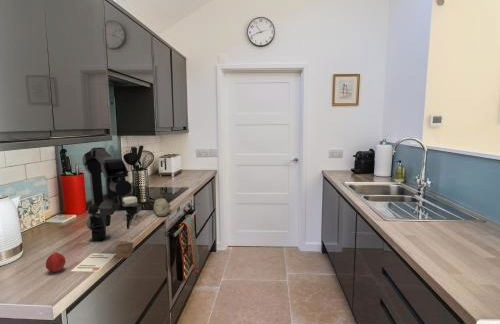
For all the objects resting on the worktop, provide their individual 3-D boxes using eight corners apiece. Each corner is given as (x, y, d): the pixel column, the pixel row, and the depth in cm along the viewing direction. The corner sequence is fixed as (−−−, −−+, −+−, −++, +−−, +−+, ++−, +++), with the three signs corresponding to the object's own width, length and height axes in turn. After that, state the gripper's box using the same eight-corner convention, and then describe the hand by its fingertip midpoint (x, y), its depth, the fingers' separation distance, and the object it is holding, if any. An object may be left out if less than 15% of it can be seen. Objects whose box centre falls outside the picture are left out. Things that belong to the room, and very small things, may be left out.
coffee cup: (120, 221, 153) (119, 200, 151) (124, 216, 161) (123, 196, 160) (136, 220, 155) (135, 199, 153) (139, 215, 163) (138, 195, 161)
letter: (92, 254, 114) (92, 253, 114) (116, 254, 114) (116, 253, 114) (70, 272, 100) (70, 271, 100) (98, 272, 101) (97, 271, 100)
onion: (46, 278, 96) (44, 256, 95) (46, 271, 101) (44, 250, 100) (66, 273, 100) (64, 252, 99) (65, 266, 104) (64, 246, 103)
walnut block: (121, 253, 116) (120, 241, 115) (133, 253, 116) (133, 242, 115) (115, 259, 111) (115, 247, 110) (128, 259, 111) (127, 247, 110)
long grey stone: (168, 203, 195) (153, 205, 192) (167, 195, 195) (152, 197, 191) (172, 215, 163) (154, 218, 159) (171, 207, 162) (153, 209, 159)
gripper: (77, 196, 100) (80, 237, 102) (130, 196, 101) (132, 237, 103) (94, 188, 111) (96, 226, 113) (141, 189, 112) (142, 226, 114)
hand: (116, 229), depth 110 cm, fingers open, 9 cm apart
